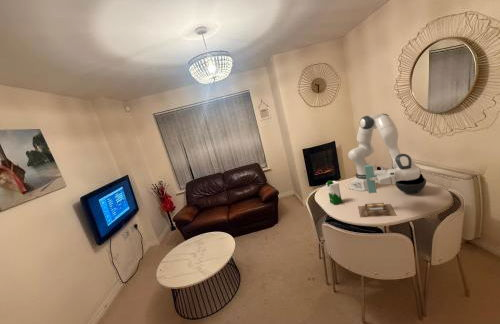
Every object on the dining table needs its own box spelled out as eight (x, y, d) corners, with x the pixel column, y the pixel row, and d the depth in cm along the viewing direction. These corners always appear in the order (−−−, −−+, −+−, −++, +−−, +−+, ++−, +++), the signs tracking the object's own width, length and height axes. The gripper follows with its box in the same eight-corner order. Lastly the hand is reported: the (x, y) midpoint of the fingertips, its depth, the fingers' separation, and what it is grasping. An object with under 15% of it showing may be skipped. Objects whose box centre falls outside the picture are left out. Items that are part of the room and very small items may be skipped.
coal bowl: (407, 185, 185) (404, 164, 182) (433, 190, 166) (431, 167, 163) (390, 193, 179) (387, 171, 176) (415, 199, 160) (412, 175, 157)
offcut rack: (391, 205, 161) (390, 200, 160) (397, 217, 145) (396, 211, 144) (358, 207, 170) (357, 202, 169) (360, 219, 154) (359, 213, 153)
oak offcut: (383, 210, 155) (382, 203, 154) (384, 211, 153) (383, 204, 153) (368, 211, 159) (367, 204, 158) (368, 212, 157) (367, 205, 157)
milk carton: (328, 202, 191) (324, 180, 188) (338, 199, 192) (334, 177, 189) (334, 205, 183) (329, 183, 179) (343, 202, 184) (339, 180, 180)
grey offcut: (383, 212, 152) (382, 207, 152) (383, 214, 150) (383, 208, 150) (370, 213, 155) (369, 208, 155) (370, 214, 154) (369, 209, 153)
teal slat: (376, 191, 158) (372, 164, 154) (376, 192, 156) (372, 165, 152) (368, 191, 160) (364, 165, 156) (368, 193, 158) (364, 166, 154)
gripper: (387, 166, 159) (366, 169, 165) (394, 175, 141) (370, 178, 147) (388, 175, 161) (367, 177, 166) (395, 185, 142) (371, 187, 148)
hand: (368, 178), depth 156 cm, fingers closed on teal slat, 2 cm apart
